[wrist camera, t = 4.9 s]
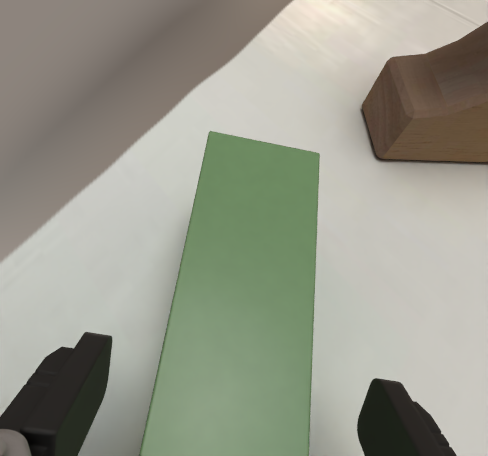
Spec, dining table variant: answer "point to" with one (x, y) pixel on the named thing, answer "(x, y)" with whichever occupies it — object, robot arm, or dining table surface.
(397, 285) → the dining table surface
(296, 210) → the bar
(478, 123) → the decorative block
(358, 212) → the dining table surface
